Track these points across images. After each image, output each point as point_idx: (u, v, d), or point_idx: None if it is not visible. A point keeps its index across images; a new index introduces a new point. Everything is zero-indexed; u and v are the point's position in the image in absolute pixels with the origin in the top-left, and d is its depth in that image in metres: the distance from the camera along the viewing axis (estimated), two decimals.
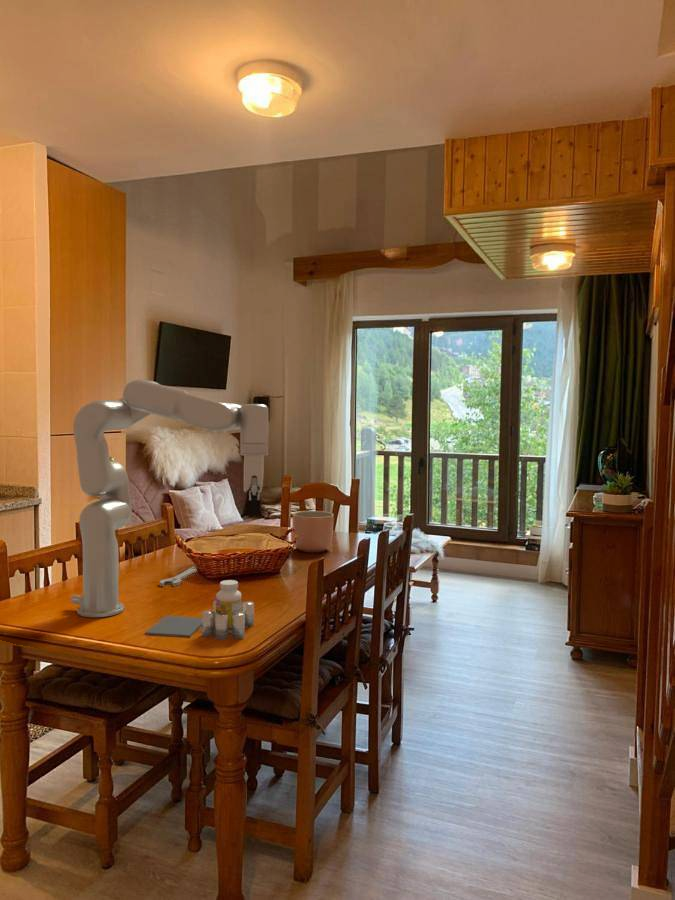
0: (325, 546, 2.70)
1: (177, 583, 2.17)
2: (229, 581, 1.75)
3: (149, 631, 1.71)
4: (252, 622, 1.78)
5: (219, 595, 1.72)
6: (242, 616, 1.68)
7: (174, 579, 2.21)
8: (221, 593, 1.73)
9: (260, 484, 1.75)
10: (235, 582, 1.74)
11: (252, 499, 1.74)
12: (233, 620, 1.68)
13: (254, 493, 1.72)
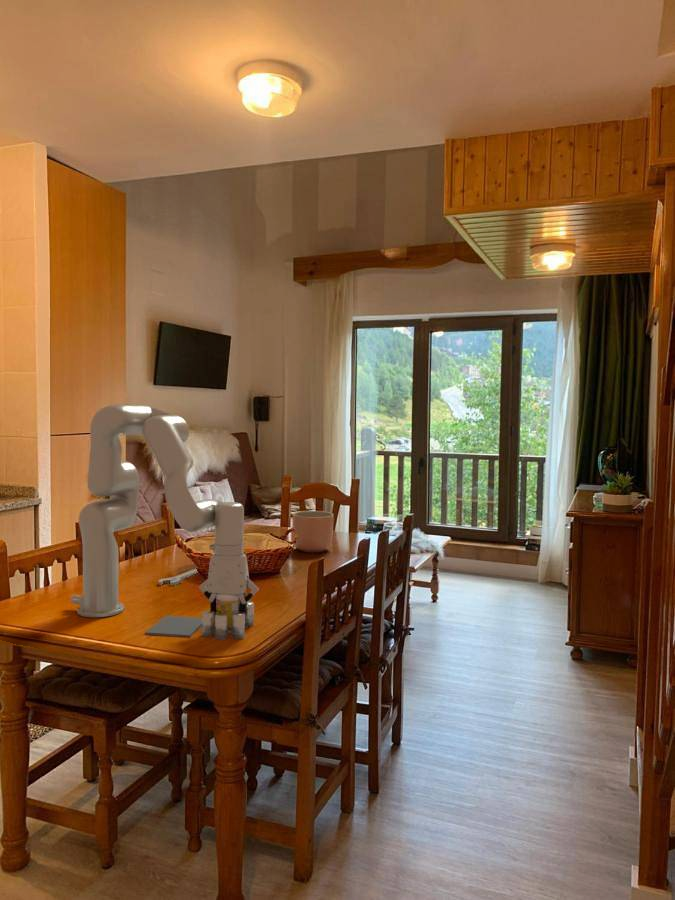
0: (325, 546, 2.70)
1: (175, 583, 2.17)
2: None
3: (149, 631, 1.71)
4: (252, 622, 1.78)
5: (219, 595, 1.72)
6: (242, 616, 1.68)
7: None
8: None
9: None
10: None
11: (246, 601, 1.73)
12: (233, 620, 1.68)
13: None
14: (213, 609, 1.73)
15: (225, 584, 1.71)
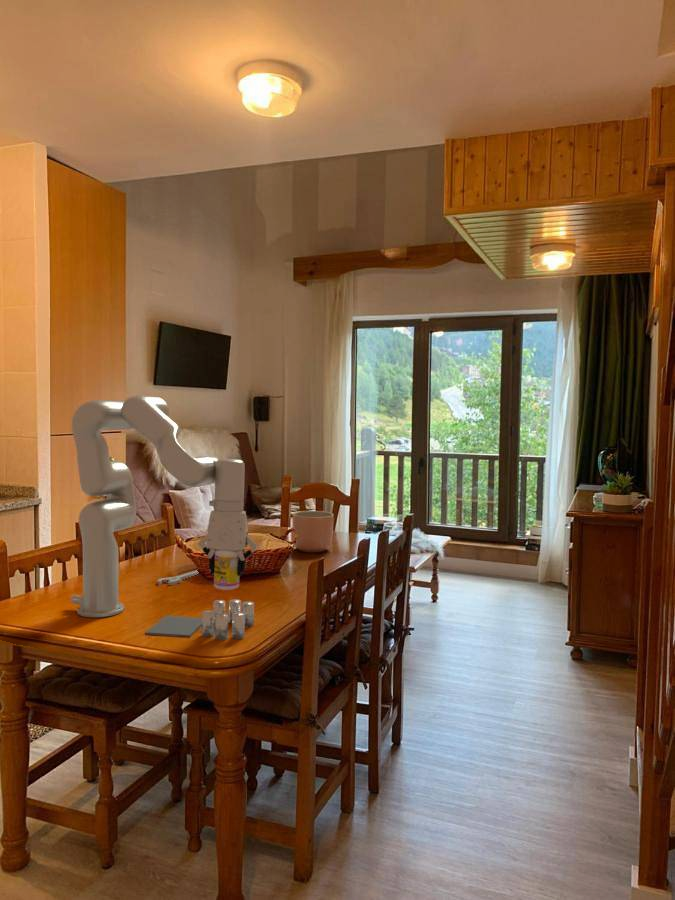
0: (325, 546, 2.70)
1: (173, 582, 2.18)
2: None
3: (149, 631, 1.71)
4: (252, 622, 1.78)
5: (218, 551, 1.71)
6: (242, 616, 1.68)
7: (174, 578, 2.22)
8: None
9: None
10: None
11: (245, 558, 1.73)
12: (233, 620, 1.68)
13: None
14: (211, 565, 1.73)
15: (224, 540, 1.71)
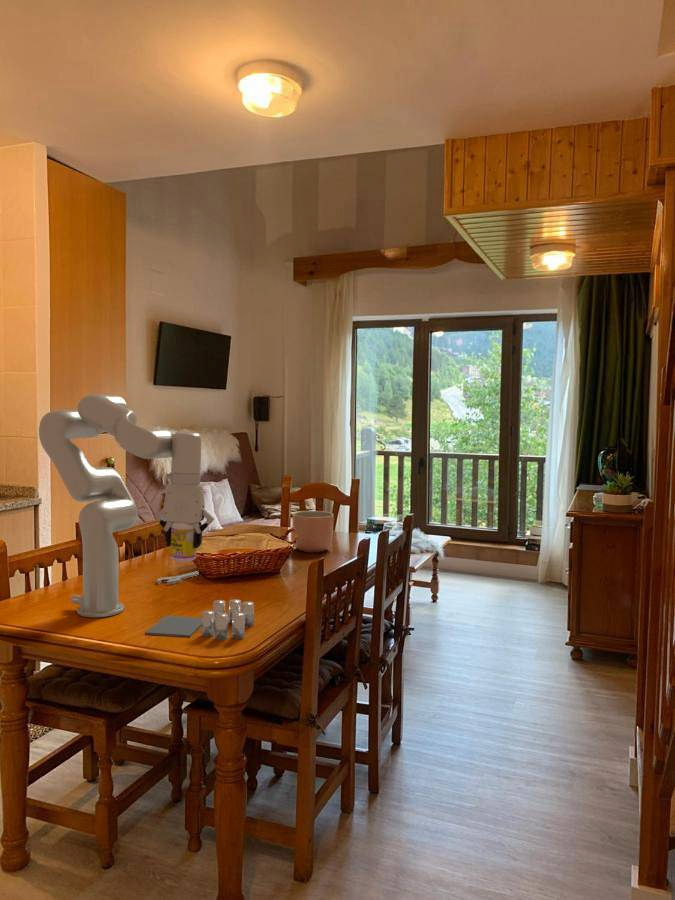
0: (325, 546, 2.70)
1: (172, 582, 2.18)
2: None
3: (149, 631, 1.71)
4: (252, 622, 1.78)
5: (174, 523, 1.72)
6: (242, 616, 1.68)
7: (174, 578, 2.22)
8: None
9: None
10: None
11: (201, 531, 1.74)
12: (233, 620, 1.68)
13: (208, 525, 1.74)
14: (168, 538, 1.74)
15: (180, 513, 1.72)
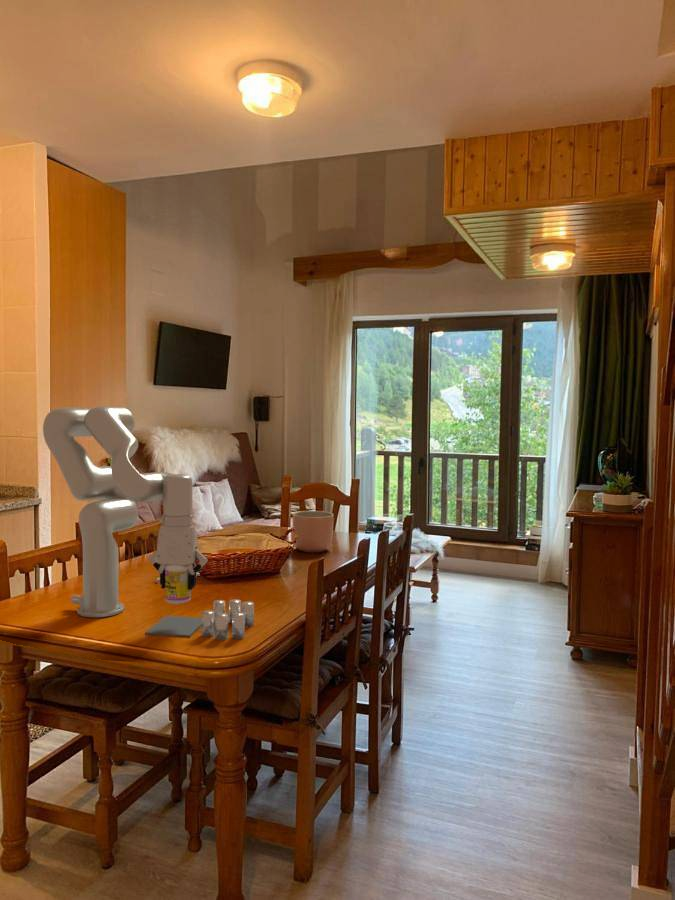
0: (325, 546, 2.70)
1: None
2: None
3: (149, 631, 1.71)
4: (252, 622, 1.78)
5: (168, 566, 1.73)
6: (242, 616, 1.68)
7: None
8: None
9: None
10: None
11: (195, 572, 1.74)
12: (233, 620, 1.68)
13: None
14: (162, 580, 1.75)
15: (173, 555, 1.73)
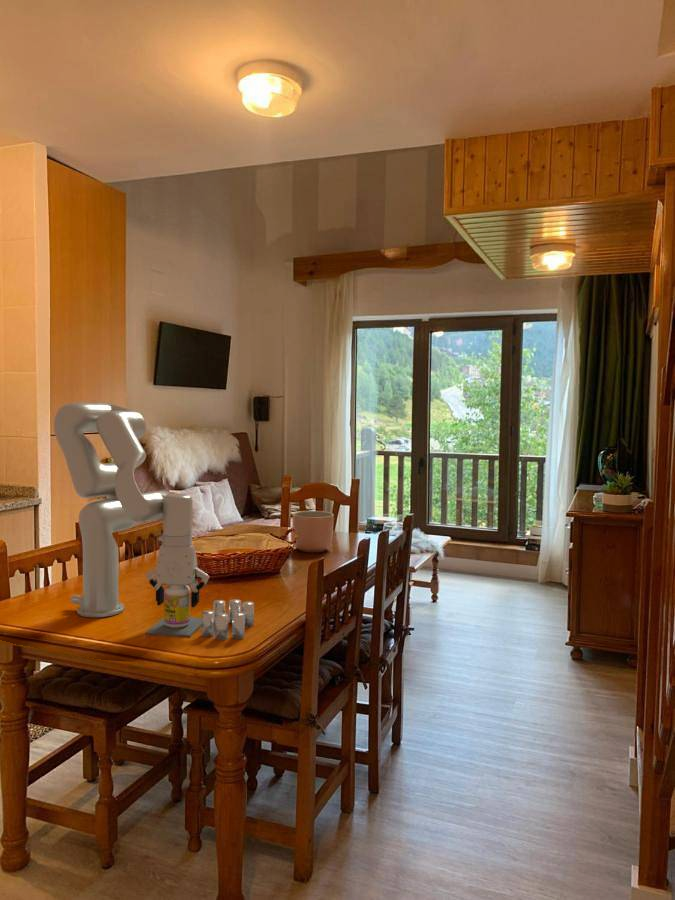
0: (325, 546, 2.70)
1: None
2: None
3: (149, 631, 1.71)
4: (252, 622, 1.78)
5: (167, 590, 1.74)
6: (242, 616, 1.68)
7: None
8: (169, 587, 1.74)
9: None
10: None
11: (198, 590, 1.75)
12: (233, 620, 1.68)
13: (205, 583, 1.75)
14: (158, 597, 1.75)
15: (173, 575, 1.73)
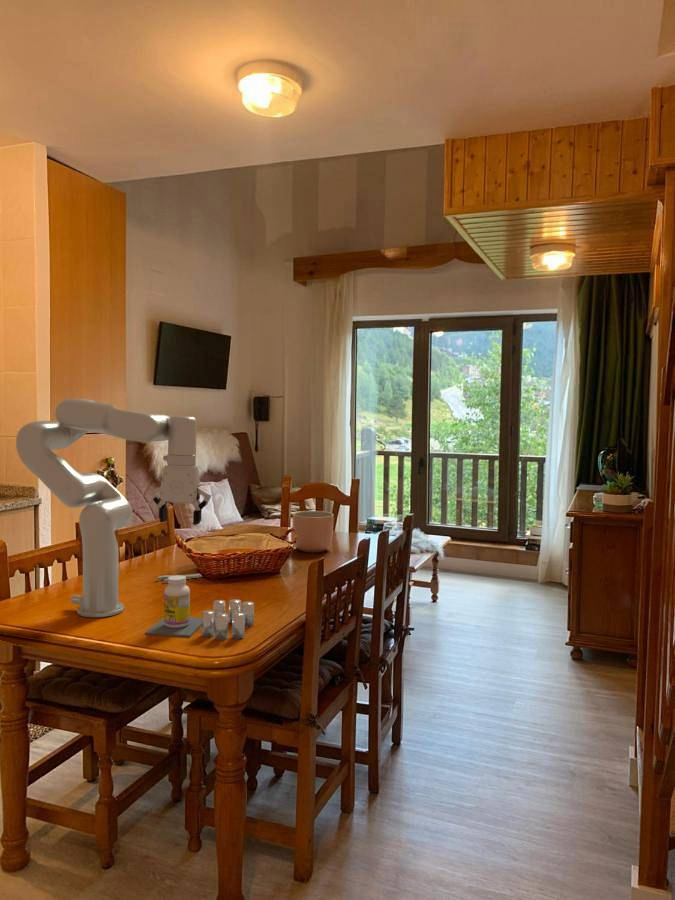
0: (325, 546, 2.70)
1: None
2: (177, 576, 1.77)
3: (149, 631, 1.71)
4: (252, 622, 1.78)
5: (167, 590, 1.74)
6: (242, 616, 1.68)
7: None
8: (168, 588, 1.74)
9: (199, 493, 1.83)
10: (183, 577, 1.76)
11: (201, 508, 1.81)
12: (233, 620, 1.68)
13: (207, 502, 1.81)
14: (161, 514, 1.82)
15: (176, 493, 1.79)
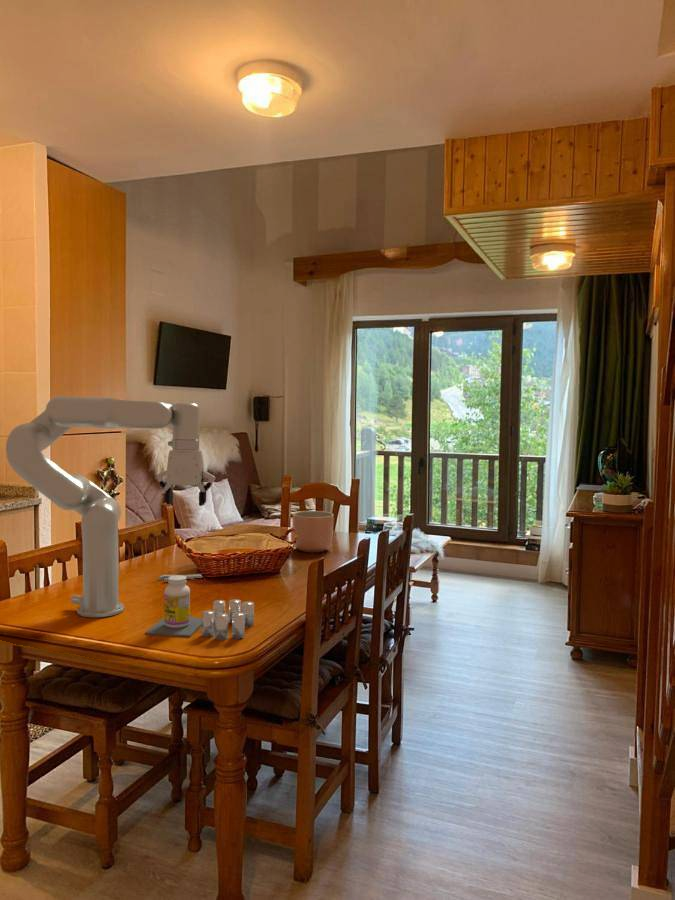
0: (325, 546, 2.70)
1: None
2: (178, 576, 1.77)
3: (149, 631, 1.71)
4: (252, 622, 1.78)
5: (167, 590, 1.74)
6: (242, 616, 1.68)
7: None
8: (169, 588, 1.74)
9: None
10: (183, 577, 1.76)
11: (205, 490, 1.90)
12: (233, 620, 1.68)
13: (211, 484, 1.91)
14: (167, 497, 1.91)
15: (182, 476, 1.89)
